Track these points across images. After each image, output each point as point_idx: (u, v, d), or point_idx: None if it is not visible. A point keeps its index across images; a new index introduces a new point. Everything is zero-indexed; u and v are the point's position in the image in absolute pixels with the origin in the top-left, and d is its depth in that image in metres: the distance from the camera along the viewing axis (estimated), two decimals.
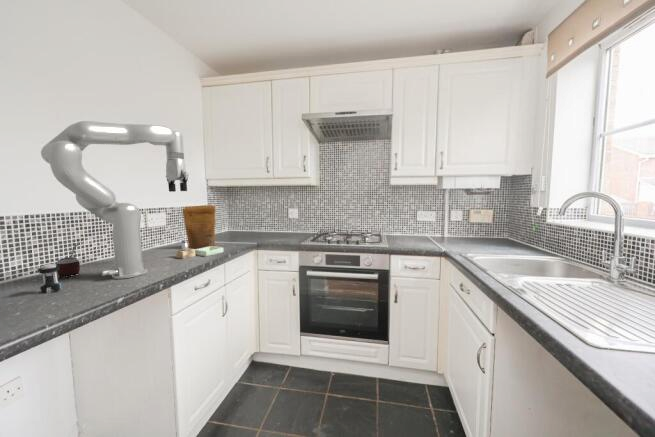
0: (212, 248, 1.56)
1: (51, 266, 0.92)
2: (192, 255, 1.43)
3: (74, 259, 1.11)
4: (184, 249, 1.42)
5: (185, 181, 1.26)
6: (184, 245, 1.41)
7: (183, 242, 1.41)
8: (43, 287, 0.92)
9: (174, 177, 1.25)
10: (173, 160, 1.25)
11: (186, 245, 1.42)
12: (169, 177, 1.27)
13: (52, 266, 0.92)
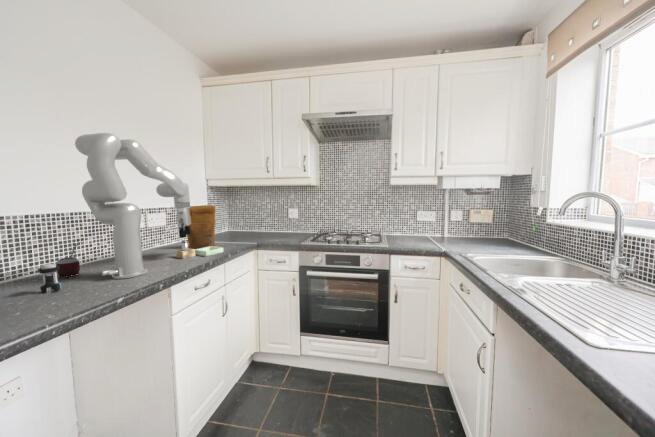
0: (212, 248, 1.56)
1: (51, 266, 0.92)
2: (192, 255, 1.43)
3: (74, 259, 1.11)
4: (184, 249, 1.42)
5: None
6: (184, 245, 1.41)
7: (183, 242, 1.41)
8: (43, 287, 0.92)
9: (190, 223, 1.45)
10: (188, 208, 1.44)
11: (186, 245, 1.42)
12: (189, 224, 1.42)
13: (52, 266, 0.92)
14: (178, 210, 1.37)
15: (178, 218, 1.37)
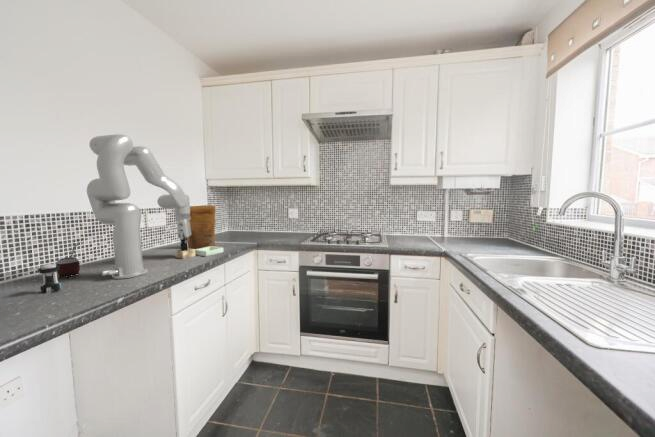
0: (212, 248, 1.56)
1: (51, 266, 0.92)
2: (192, 255, 1.43)
3: (74, 259, 1.11)
4: None
5: None
6: None
7: None
8: (43, 287, 0.92)
9: (190, 234, 1.46)
10: (189, 220, 1.44)
11: None
12: (189, 235, 1.42)
13: (52, 266, 0.92)
14: (178, 221, 1.37)
15: (178, 229, 1.37)
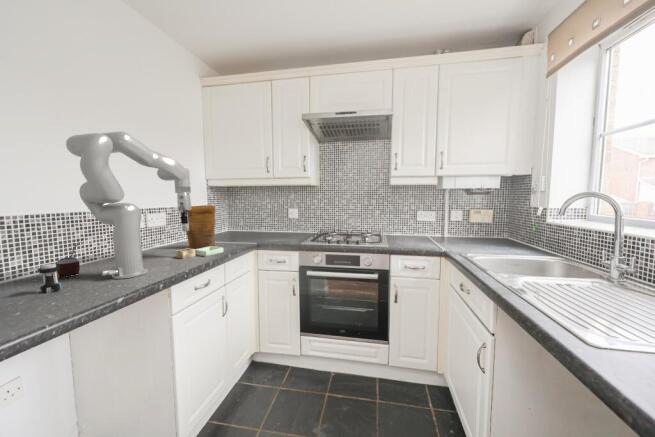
0: (212, 248, 1.56)
1: (51, 266, 0.92)
2: (192, 255, 1.43)
3: (74, 259, 1.11)
4: None
5: None
6: None
7: None
8: (43, 287, 0.92)
9: (190, 208, 1.45)
10: (189, 194, 1.44)
11: None
12: (189, 209, 1.41)
13: (52, 266, 0.92)
14: (179, 194, 1.36)
15: (178, 202, 1.36)
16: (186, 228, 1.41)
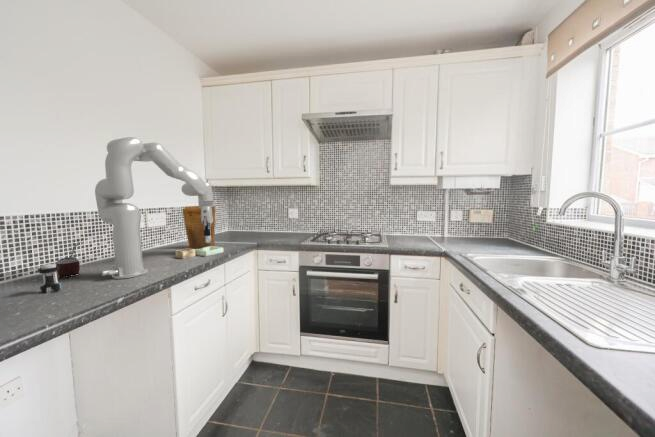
0: (212, 248, 1.56)
1: (51, 266, 0.92)
2: (192, 255, 1.43)
3: (74, 259, 1.11)
4: None
5: None
6: None
7: None
8: (43, 287, 0.92)
9: (212, 221, 1.52)
10: (211, 207, 1.51)
11: None
12: (211, 222, 1.48)
13: (52, 266, 0.92)
14: (202, 208, 1.44)
15: (202, 216, 1.44)
16: (209, 240, 1.49)
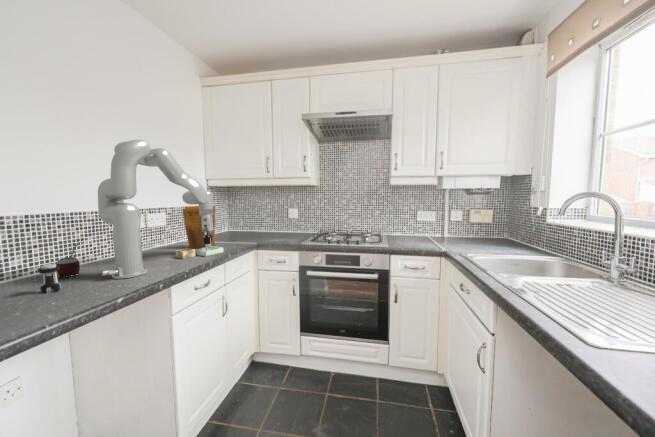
0: (212, 248, 1.56)
1: (51, 266, 0.92)
2: (192, 255, 1.43)
3: (74, 259, 1.11)
4: (207, 245, 1.49)
5: None
6: None
7: None
8: (43, 287, 0.92)
9: None
10: (211, 215, 1.51)
11: None
12: (212, 230, 1.49)
13: (52, 266, 0.92)
14: (203, 217, 1.44)
15: (202, 224, 1.44)
16: None
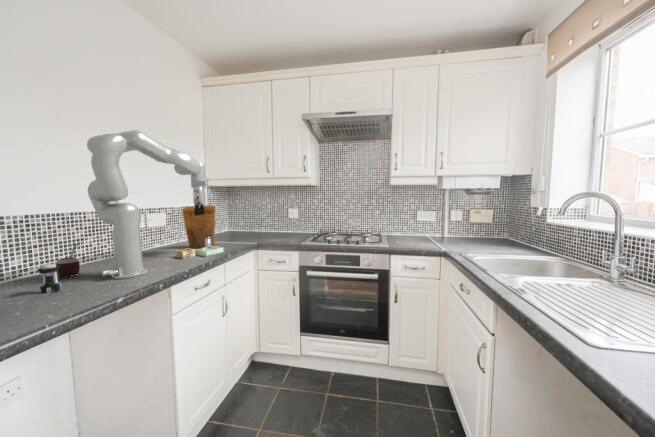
0: (212, 248, 1.56)
1: (51, 266, 0.92)
2: (192, 255, 1.43)
3: (74, 259, 1.11)
4: (207, 245, 1.49)
5: None
6: (207, 241, 1.49)
7: (206, 238, 1.48)
8: (43, 287, 0.92)
9: (205, 203, 1.49)
10: (204, 188, 1.48)
11: (209, 241, 1.49)
12: (204, 203, 1.45)
13: (52, 266, 0.92)
14: (194, 188, 1.41)
15: (194, 196, 1.40)
16: None
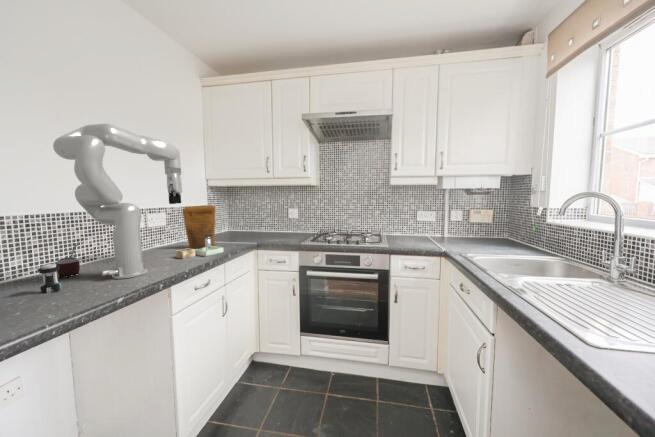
0: (212, 248, 1.56)
1: (51, 266, 0.92)
2: (192, 255, 1.43)
3: (74, 259, 1.11)
4: (207, 245, 1.49)
5: None
6: (208, 241, 1.49)
7: (206, 238, 1.48)
8: (43, 287, 0.92)
9: (181, 191, 1.41)
10: (179, 176, 1.40)
11: (209, 241, 1.49)
12: (179, 191, 1.37)
13: (52, 266, 0.92)
14: (168, 175, 1.33)
15: (168, 183, 1.32)
16: None
